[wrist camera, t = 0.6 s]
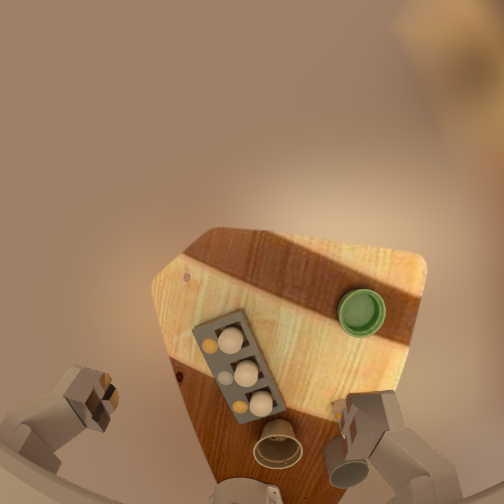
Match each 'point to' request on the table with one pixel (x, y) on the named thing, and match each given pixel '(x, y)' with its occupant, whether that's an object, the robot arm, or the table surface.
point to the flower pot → (278, 446)
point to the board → (225, 366)
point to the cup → (343, 466)
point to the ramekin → (361, 312)
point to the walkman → (338, 410)
